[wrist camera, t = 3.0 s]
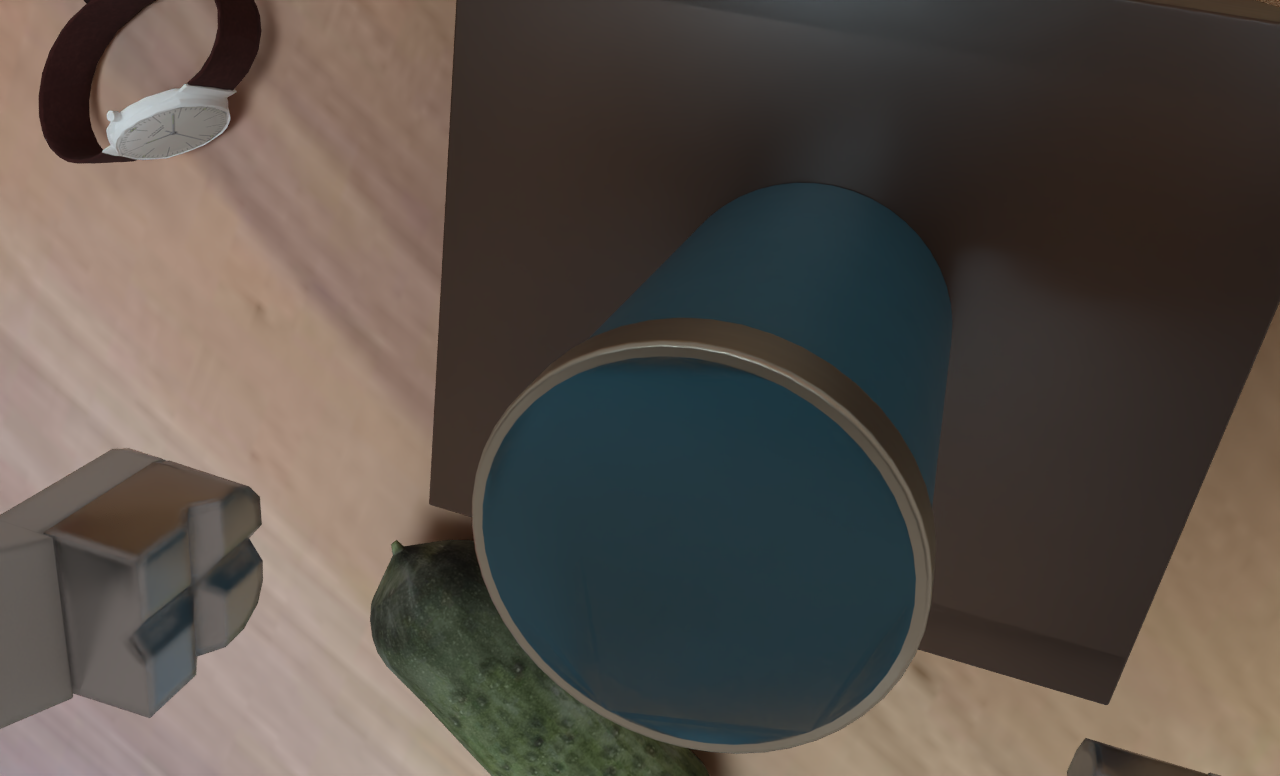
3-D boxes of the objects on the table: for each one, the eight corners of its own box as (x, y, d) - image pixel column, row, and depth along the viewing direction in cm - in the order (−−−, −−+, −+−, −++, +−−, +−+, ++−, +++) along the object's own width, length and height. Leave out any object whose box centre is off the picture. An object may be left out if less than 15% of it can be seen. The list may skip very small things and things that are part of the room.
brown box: (1253, -1, 22) (1392, 39, 15) (1076, 483, 28) (1108, 706, 20) (628, -99, 25) (461, -108, 18) (575, 355, 31) (428, 505, 23)
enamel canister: (995, 211, 17) (993, 414, 10) (916, 489, 19) (869, 812, 12) (684, 147, 18) (485, 289, 11) (644, 416, 20) (456, 675, 13)
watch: (146, 194, 33) (55, 222, 30) (53, 57, 32) (-51, 71, 29) (314, 67, 30) (232, 84, 26) (216, -91, 29) (118, -93, 25)
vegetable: (762, 783, 35) (728, 907, 30) (651, 838, 37) (604, 960, 33) (476, 467, 33) (397, 549, 29) (379, 545, 36) (293, 632, 31)
